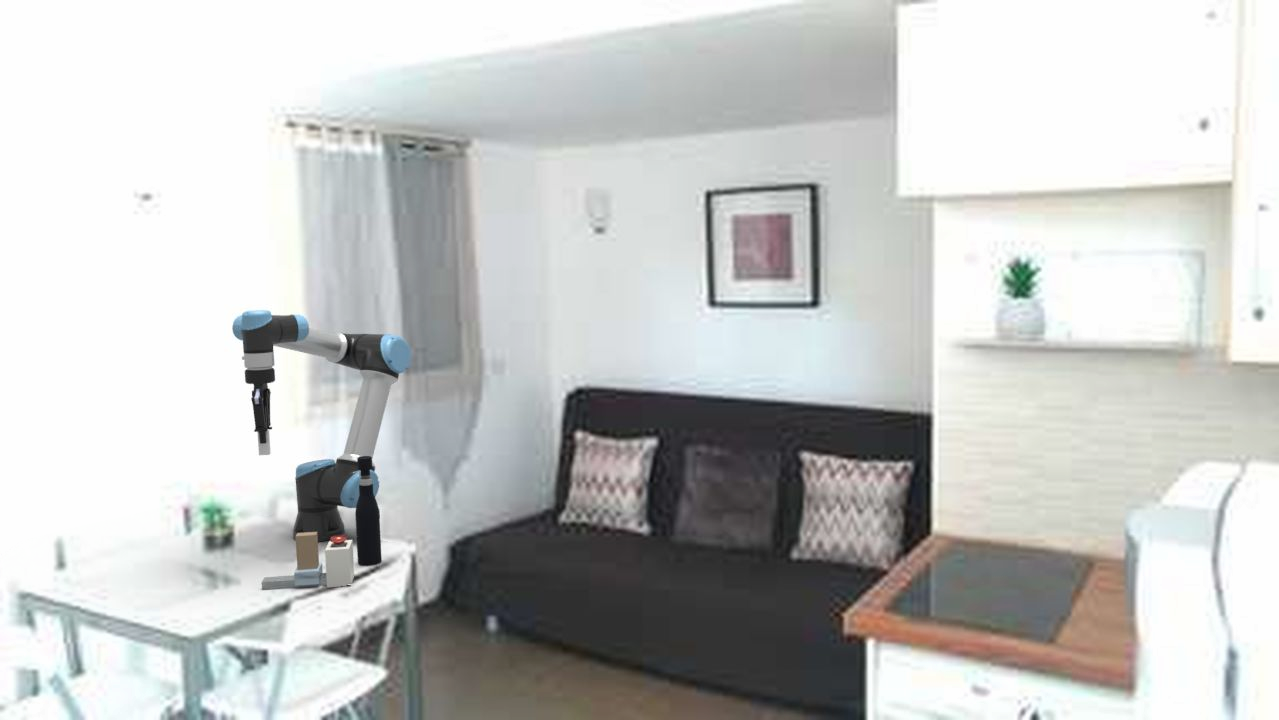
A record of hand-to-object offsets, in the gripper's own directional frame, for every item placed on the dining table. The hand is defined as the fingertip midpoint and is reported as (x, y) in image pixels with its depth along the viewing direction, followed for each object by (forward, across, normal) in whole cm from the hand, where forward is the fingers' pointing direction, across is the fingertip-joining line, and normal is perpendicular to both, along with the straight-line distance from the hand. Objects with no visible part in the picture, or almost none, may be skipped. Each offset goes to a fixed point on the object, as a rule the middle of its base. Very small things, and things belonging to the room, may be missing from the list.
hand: (264, 454), depth 267 cm
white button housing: (+32, +14, +20) cm, 41 cm away
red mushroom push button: (+27, +14, +20) cm, 37 cm away
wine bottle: (+33, -1, +26) cm, 42 cm away
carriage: (+32, +14, +12) cm, 37 cm away
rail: (+32, +14, +9) cm, 36 cm away
